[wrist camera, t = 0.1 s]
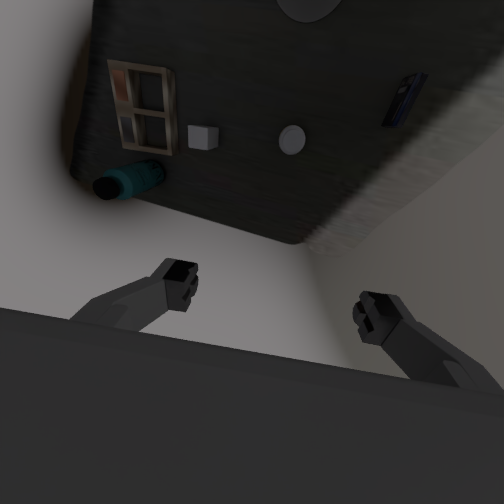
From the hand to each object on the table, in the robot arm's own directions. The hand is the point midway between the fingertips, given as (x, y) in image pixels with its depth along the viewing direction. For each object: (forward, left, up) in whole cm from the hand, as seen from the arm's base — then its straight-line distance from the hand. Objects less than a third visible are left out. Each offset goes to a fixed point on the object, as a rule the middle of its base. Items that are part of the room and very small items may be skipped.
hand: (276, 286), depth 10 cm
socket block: (-6, -31, -48) cm, 57 cm away
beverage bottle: (+8, -32, -48) cm, 58 cm away
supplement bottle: (-5, +2, -48) cm, 48 cm away
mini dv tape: (-14, +22, -48) cm, 55 cm away
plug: (-3, -17, -48) cm, 51 cm away
